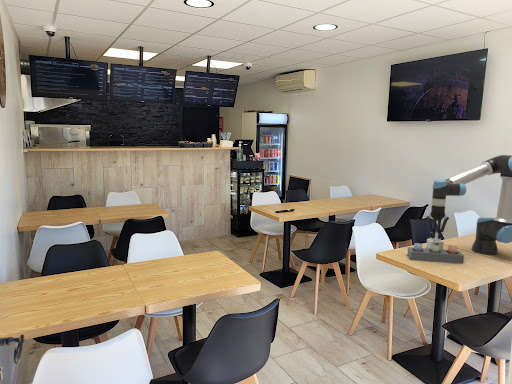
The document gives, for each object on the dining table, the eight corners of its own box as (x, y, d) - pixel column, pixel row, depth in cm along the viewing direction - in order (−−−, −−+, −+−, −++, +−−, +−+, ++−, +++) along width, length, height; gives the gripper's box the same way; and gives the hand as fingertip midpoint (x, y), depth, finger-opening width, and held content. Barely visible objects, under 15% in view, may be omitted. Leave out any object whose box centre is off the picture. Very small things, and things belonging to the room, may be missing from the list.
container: (442, 253, 250) (444, 233, 248) (431, 253, 250) (432, 233, 248) (437, 249, 257) (439, 231, 256) (426, 249, 257) (427, 230, 256)
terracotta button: (455, 253, 236) (455, 245, 235) (457, 255, 232) (458, 247, 231) (446, 252, 237) (447, 245, 237) (449, 255, 233) (449, 247, 232)
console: (457, 258, 239) (458, 250, 238) (463, 263, 228) (464, 255, 228) (407, 254, 246) (407, 247, 245) (410, 259, 235) (410, 252, 234)
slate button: (421, 251, 240) (421, 243, 240) (422, 253, 236) (423, 245, 235) (412, 250, 241) (413, 242, 241) (414, 252, 237) (414, 245, 236)
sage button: (438, 252, 238) (438, 244, 238) (439, 254, 234) (440, 246, 233) (429, 251, 239) (430, 244, 239) (431, 253, 235) (432, 246, 234)
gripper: (448, 204, 235) (445, 241, 238) (425, 203, 237) (423, 240, 241) (451, 206, 227) (448, 245, 231) (428, 205, 230) (425, 243, 233)
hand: (435, 242), depth 236 cm, fingers closed
